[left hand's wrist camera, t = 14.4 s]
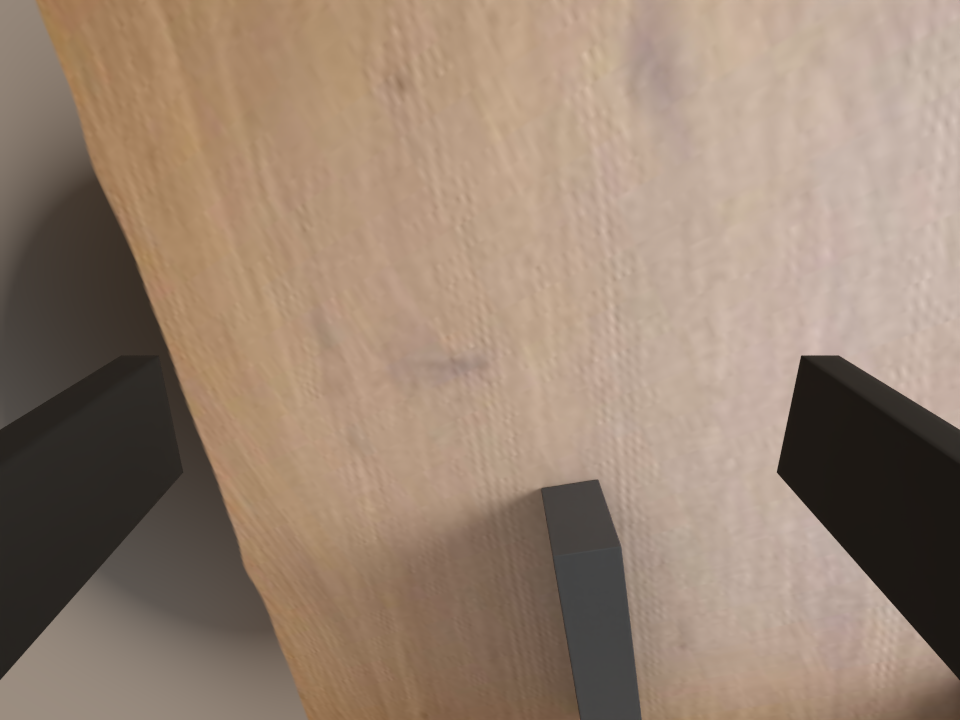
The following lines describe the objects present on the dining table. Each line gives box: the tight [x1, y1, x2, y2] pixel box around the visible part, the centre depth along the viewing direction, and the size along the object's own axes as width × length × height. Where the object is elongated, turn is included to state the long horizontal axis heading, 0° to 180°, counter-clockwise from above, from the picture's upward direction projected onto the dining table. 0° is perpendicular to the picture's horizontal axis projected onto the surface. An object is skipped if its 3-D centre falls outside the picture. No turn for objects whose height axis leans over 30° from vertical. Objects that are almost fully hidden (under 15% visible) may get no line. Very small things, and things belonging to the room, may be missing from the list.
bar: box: [541, 480, 642, 720], centre depth 47 cm, size 26×5×8 cm, turn 10°
